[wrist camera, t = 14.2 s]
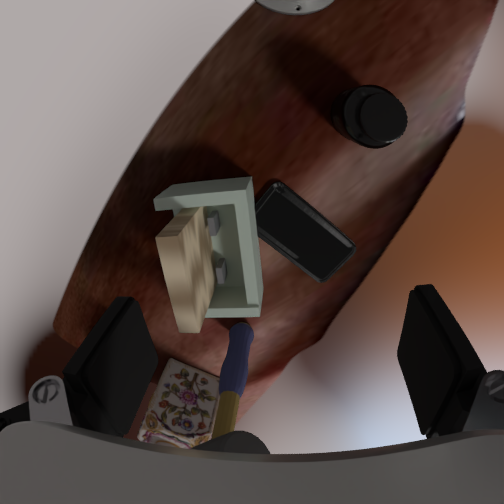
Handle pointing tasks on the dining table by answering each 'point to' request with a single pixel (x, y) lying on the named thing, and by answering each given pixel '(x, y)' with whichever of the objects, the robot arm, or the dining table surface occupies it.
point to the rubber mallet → (233, 398)
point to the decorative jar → (181, 407)
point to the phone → (301, 233)
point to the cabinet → (226, 240)
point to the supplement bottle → (369, 116)
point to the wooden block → (188, 266)
